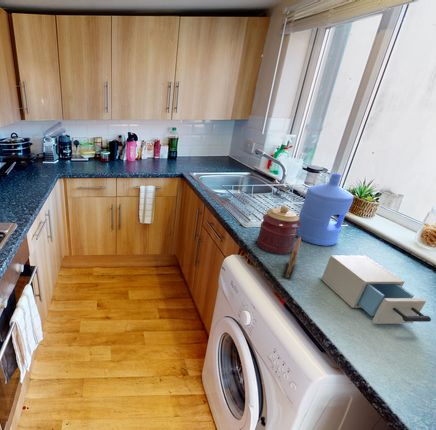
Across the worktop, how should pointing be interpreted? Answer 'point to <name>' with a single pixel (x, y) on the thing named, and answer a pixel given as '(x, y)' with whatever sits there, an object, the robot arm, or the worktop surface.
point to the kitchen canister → (278, 230)
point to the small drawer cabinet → (355, 276)
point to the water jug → (324, 212)
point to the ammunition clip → (292, 259)
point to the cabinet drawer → (391, 304)
